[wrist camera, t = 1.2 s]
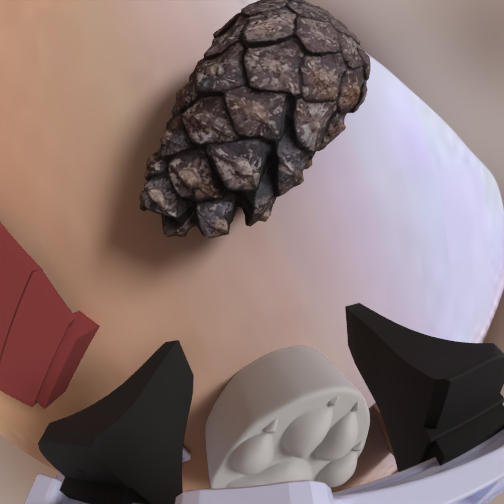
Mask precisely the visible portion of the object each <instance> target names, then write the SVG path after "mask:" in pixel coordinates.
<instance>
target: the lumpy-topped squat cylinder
mask: <svg viewBox="0 0 504 504" xmlns="http://www.w3.org/2000/svg"><path fill="white" fill-rule="evenodd" d="M369 425H370V414H369V409H368V406H367V403H366V400H365V398H364V397H363V395H362V394H361V393H360V392H359V391H358V390H357V388H356V387H355V386H354V385H353V384H352V383H351V382H350V381H349V380H348V379H347V378H346V377H345V376H344V375H343V374H342V373H341V372H340V370H339V369H338V368H337V367H336V366H335V365H334V364H333V363H332V362H331V361H330V360H329V359H328V358H327V357H326V356H325V355H324V354H323V353H322V352H321V351H319V350H318V349H316V348H313V347H310V346H292V347H287V348H283V349H279V350H276V351H273V352H271V353H268V354H266V355H264V356H263V357H261V358H259V359H257V360H255V361H254V362H252V363H250V364H249V365H247V366H246V367H244V368H243V369H241V370H240V371H238V372H237V373H236V374H235V375H234V376H233V377H232V379H231V380H230V381H229V383H228V384H227V385H226V387H225V388H224V390H223V391H222V393H221V394H220V396H219V397H218V399H217V401H216V402H215V404H214V406H213V408H212V411H211V413H210V415H209V417H208V419H207V421H206V425H205V438H206V451H207V461H208V471H209V481H210V488H211V489H214V488H234V487H246V486H256V485H265V484H273V483H280V482H286V481H297V480H313V481H319V482H323V483H326V485H327V486H328V487H329V488H331V487H337V486H340V485H342V484H343V483H345V482H346V481H347V480H348V479H349V478H350V477H351V476H352V475H353V473H354V471H355V469H356V465H357V458H358V457H359V455H360V454H361V452H362V450H363V448H364V445H365V442H366V438H367V435H368V430H369Z"/></svg>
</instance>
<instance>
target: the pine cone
mask: <svg viewBox="0 0 504 504" xmlns="http://www.w3.org/2000/svg"><path fill="white" fill-rule="evenodd" d="M213 36H214V39H213V42H212V45H211V47H210V48H209V49H208V50H207V51H206V53H205V54H204V58H203V59H201V60H200V61H198V63H197V65H196V67H195V70H194V71H193V72H192V74H191V75H190V77H189V83H188V84H187V85H186V86H185V87H183V88H182V89H181V90H180V91H178V92H177V98H176V103H175V105H174V108H173V110H172V114H173V117H172V118H171V119H170V120H169V121H168V122H167V126H166V131H165V132H164V133H163V134H162V135H161V137H160V141H161V148H160V149H159V150H158V151H157V152H156V153H154V154H152V155H151V156H150V157H149V158H148V160H147V161H146V162H147V170H146V173H145V175H144V177H145V178H146V180H147V181H148V183H146V184H145V187H144V191H142V192H141V194H140V200H141V204H140V209H141V210H143V211H145V210H150V211H153V212H155V213H158V214H161V216H162V225H163V231H164V234H165V235H166V236H167V237H170V236H180V237H186V234H187V232H188V230H189V229H190V228H192V227H193V226H197V227H198V228H199V230H200V232H201V233H202V235H203V236H204V237H205V238H214V237H218V236H222V235H226V234H229V228H230V223H231V222H232V221H233V217H234V215H235V213H236V211H237V209H238V207H241V208H242V209H243V212H244V214H245V222H246V225H247V226H252V225H253V224H254V223H256V222H257V221H258V220H259V221H264V222H266V220H267V219H268V218H269V216H270V215H271V210H272V206H273V204H274V202H275V200H276V197H277V196H278V197H279V196H281V195H283V194H285V193H286V192H287V191H289V190H290V189H291V188H293V187H295V186H297V185H300V184H301V183H302V182H303V181H304V179H303V173H302V172H303V170H304V169H308V168H309V167H310V166H311V165H312V158H313V156H314V154H315V152H316V151H320V150H322V149H324V148H325V147H326V146H327V144H329V143H330V142H331V141H332V140H333V139H334V138H336V137H337V136H338V135H339V134H340V133H341V132H342V131H344V129H345V128H346V126H345V125H344V118H345V115H346V114H347V113H354V112H355V111H357V110H358V108H359V106H360V105H361V104H362V103H363V102H364V100H365V97H366V93H367V87H366V81H367V80H368V79H369V74H370V57H369V56H368V55H367V54H366V53H365V52H364V51H363V48H362V47H361V46H360V41H359V40H358V39H357V38H356V36H355V35H354V34H353V33H351V32H350V31H349V30H348V29H347V28H346V26H345V25H344V24H343V23H342V22H341V21H339V20H336V19H335V18H334V17H333V16H332V15H331V14H330V13H329V12H328V11H327V10H325V9H322V8H320V7H318V6H315V5H312V4H310V3H308V2H306V1H303V0H260V1H257V2H255V3H252V4H249V5H248V6H246V7H244V8H243V9H241V12H240V13H238V14H236V15H235V16H234V17H233V18H232V19H231V20H229V21H228V22H227V23H226V24H225V25H224V26H223V27H222V28H221V29H219V30H218V31H216V32H215V33H214V34H213Z"/></svg>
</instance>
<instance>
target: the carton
mask: <svg viewBox="0 0 504 504" xmlns="http://www.w3.org/2000/svg"><path fill="white" fill-rule="evenodd" d="M98 328H99V325H98V324H96V323H95V322H94V321H92V320H91V319H90V318H88V317H87V316H86V315H84V314H83V313H82V312H80V311H78V312H75V313H72V312H71V311H70V309H69V308H68V306H67V305H66V304H65V302H64V301H63V300H62V298H61V297H60V295H59V294H58V293H57V291H56V290H55V288H54V287H53V285H52V284H51V282H50V281H49V279H48V278H47V276H46V275H45V273H44V272H43V270H42V268H41V267H40V266H39V265H38V264H37V263H36V262H35V261H34V260H33V259H32V258H31V257H30V256H29V255H28V254H27V253H26V251H25V250H24V249H23V248H22V247H21V246H20V245H19V244H18V243H17V241H16V240H15V239H14V238H13V237H12V236H11V234H10V233H9V232H8V231H7V230H6V229H5V227H4V226H3V225H2V224H1V222H0V390H1V391H2V392H4V393H6V394H8V395H10V396H12V397H13V398H15V399H17V400H19V401H21V402H23V403H25V404H27V405H29V406H31V407H33V406H34V405H35V404H36V402H38V403H39V404H40V405H41V406H42V407H43V408H44V409H45V408H46V407H47V406H48V405H50V404H51V403H52V402H53V401H54V400H56V399H57V398H58V397H59V396H60V395H61V394H63V393H64V392H65V391H66V389H67V387H68V385H69V383H70V381H71V379H72V377H73V375H74V373H75V371H76V369H77V367H78V365H79V363H80V361H81V359H82V357H83V355H84V353H85V352H86V350H87V348H88V346H89V344H90V342H91V341H92V339H93V337H94V335H95V333H96V332H97V330H98Z"/></svg>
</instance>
